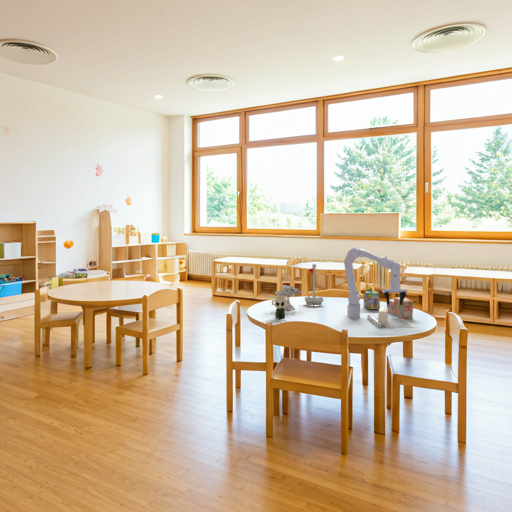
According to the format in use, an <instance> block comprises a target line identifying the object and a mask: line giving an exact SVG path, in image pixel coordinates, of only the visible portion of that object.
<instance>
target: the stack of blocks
mask: <svg viewBox="0 0 512 512" xmlns="http://www.w3.org/2000/svg"><path fill="white" fill-rule="evenodd" d="M389 302H390V304H389V305H387V304H386V308H388V314H391V315H394V316H395V317H398V318H400V319H402V320H409V319H410V320H411V319H414V318H413V315H414V314H413V313H414V300H411V299H409V298H407V297H405V298H404V300H403V303H402V305H400V296H399V297H397V296H396V297H393V298H391V299H390V300H389Z"/></svg>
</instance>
